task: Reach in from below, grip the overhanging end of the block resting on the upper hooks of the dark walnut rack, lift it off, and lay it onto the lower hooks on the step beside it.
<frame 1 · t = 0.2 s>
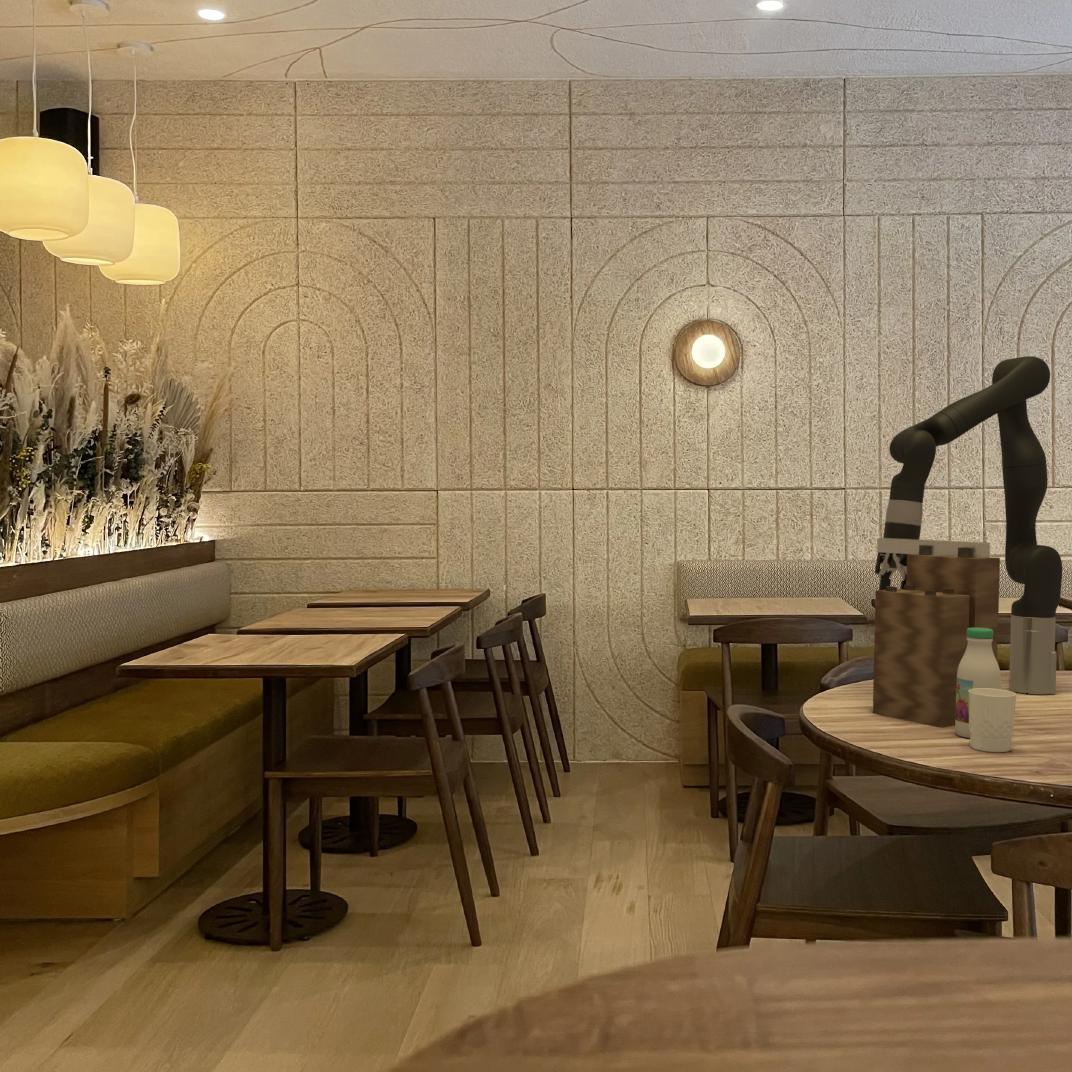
hand: (894, 596, 248), 22 cm above the table, tool pointing down, fingers open, 8 cm apart
block: (931, 554, 236), point 32 cm above the table
white cup: (990, 749, 202), on the table
rack: (933, 715, 231), on the table
milk bottle: (977, 737, 212), on the table
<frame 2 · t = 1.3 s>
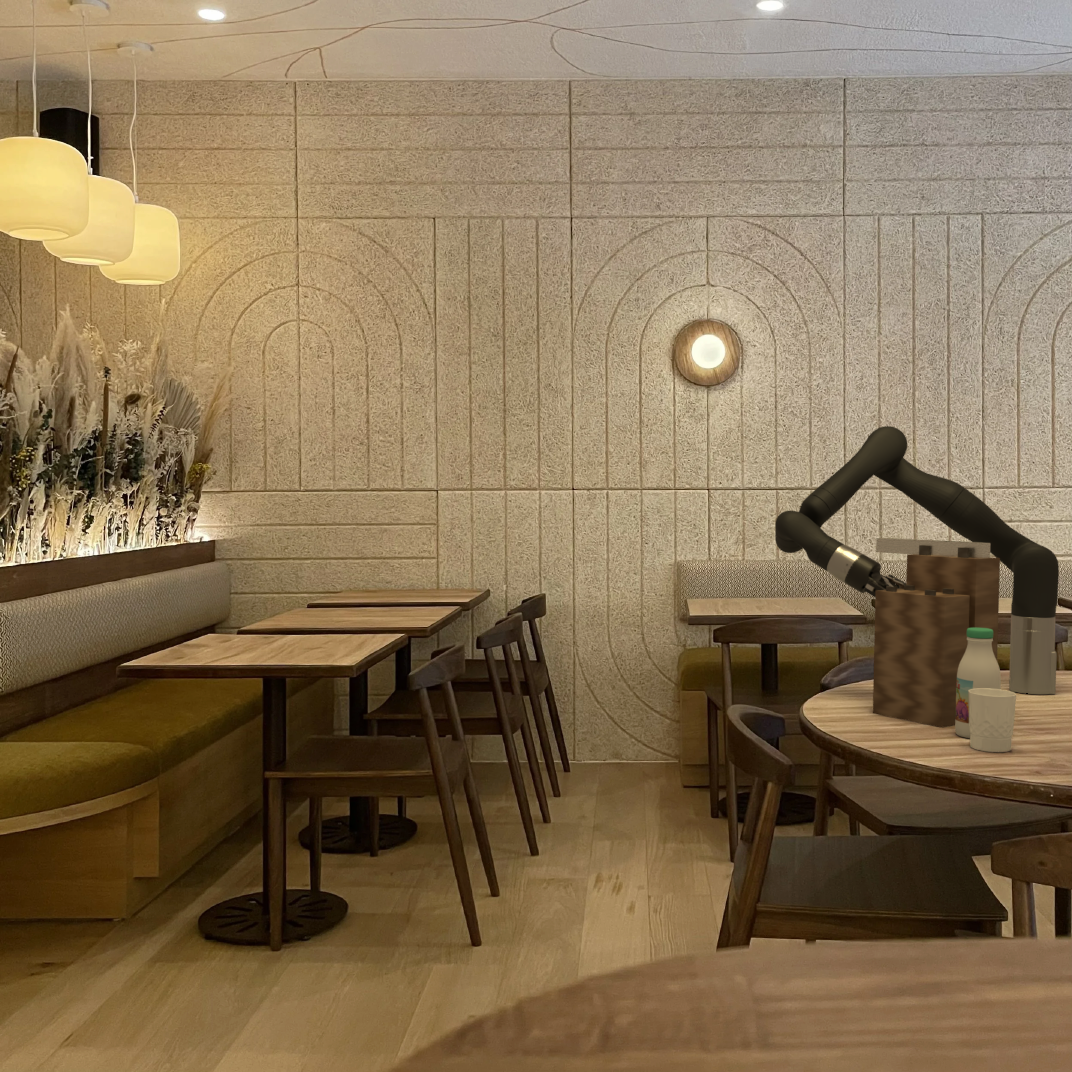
hand: (919, 606, 242), 21 cm above the table, tool tilted 65°, fingers open, 8 cm apart
block: (931, 554, 236), point 32 cm above the table, touching rack
everything else where it was.
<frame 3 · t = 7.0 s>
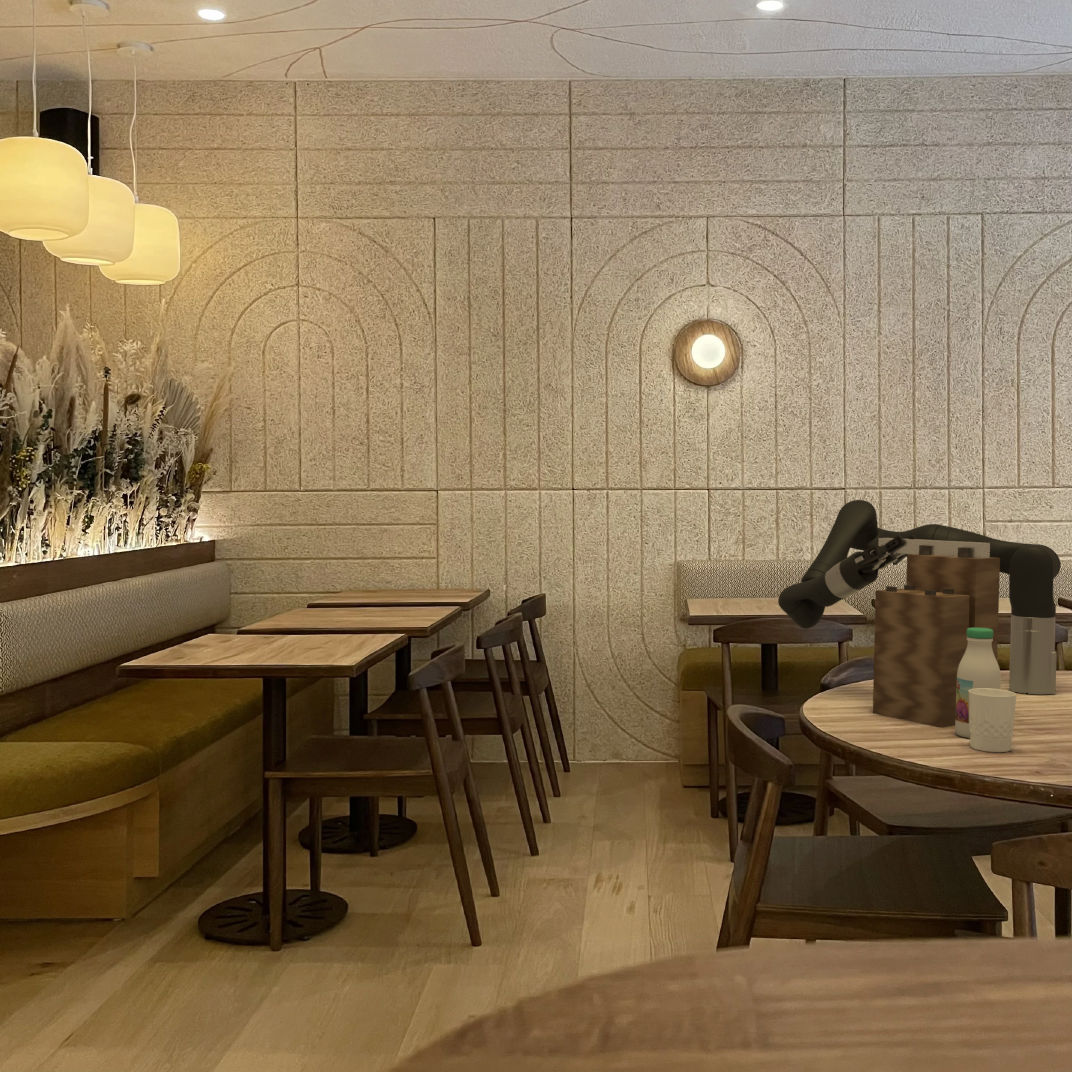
hand: (908, 539, 241), 35 cm above the table, tool pointing upward, fingers open, 4 cm apart
block: (931, 554, 236), point 32 cm above the table, touching gripper, rack
everything else where it was.
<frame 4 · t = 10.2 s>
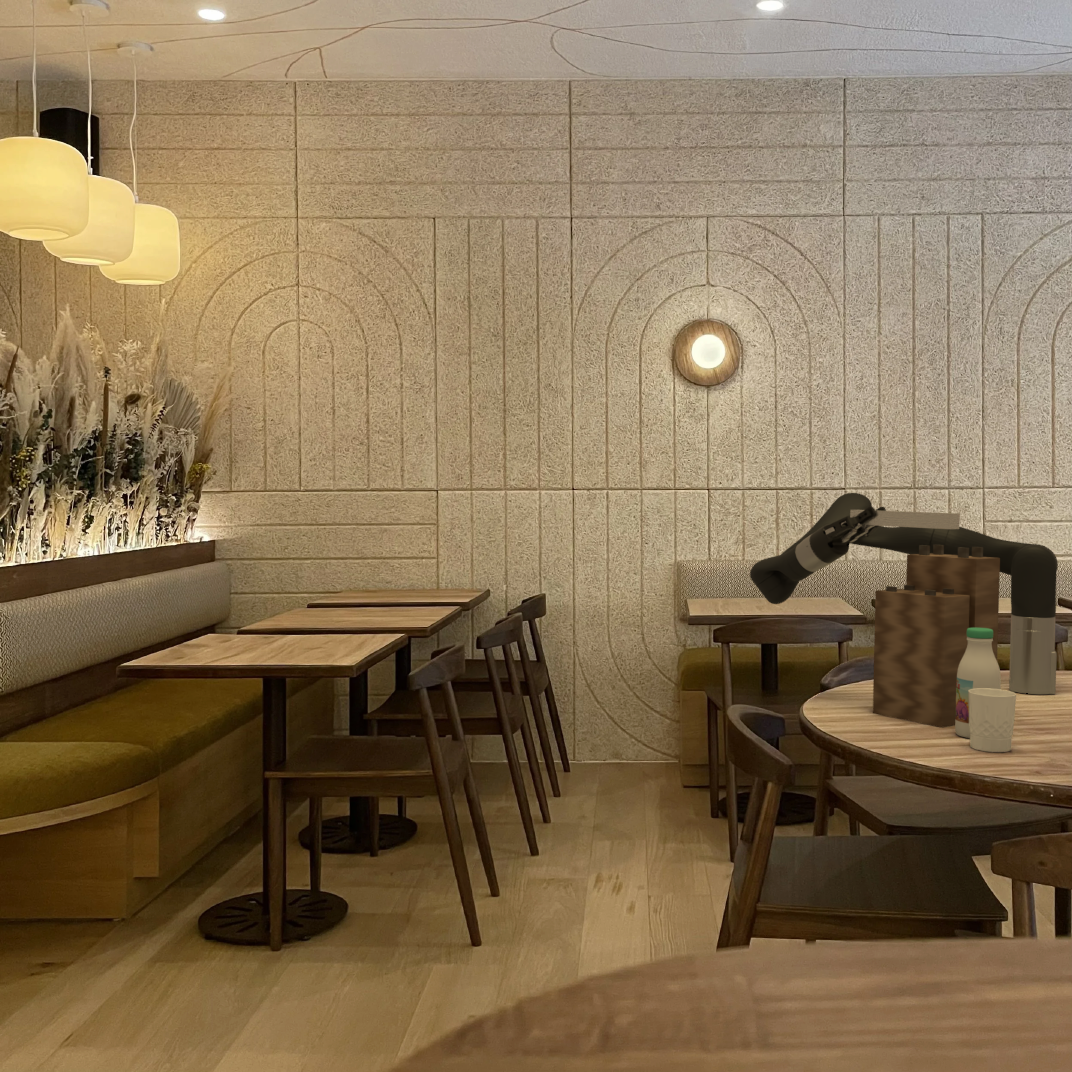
hand: (879, 510, 235), 41 cm above the table, tool pointing upward, fingers closed on block, 3 cm apart
block: (902, 526, 231), point 38 cm above the table, touching gripper
everything else where it was.
when the fingers open (29 cm above the table, at t = 13.4 s): block drops 1 cm, resting on rack.
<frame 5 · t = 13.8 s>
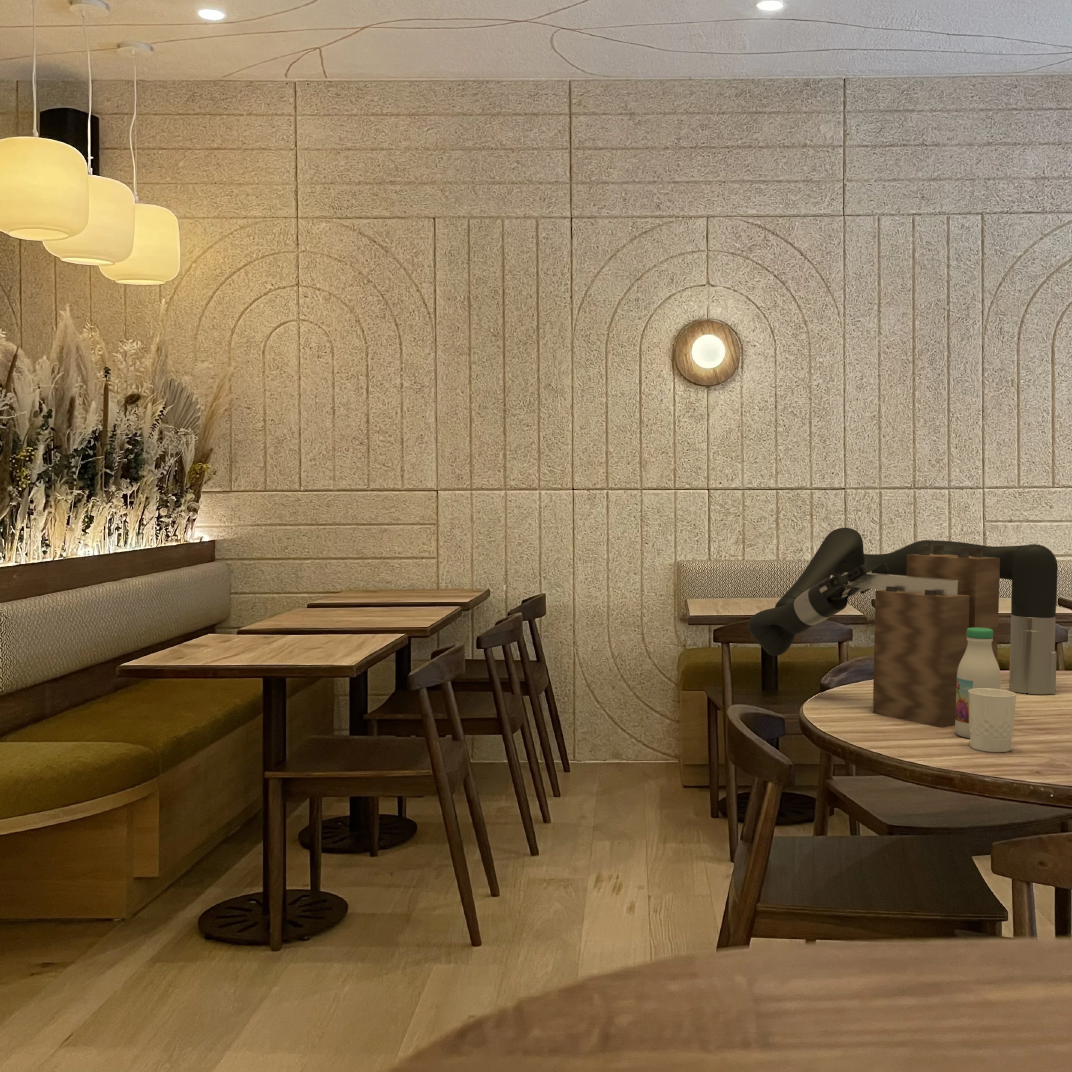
hand: (875, 568, 235), 29 cm above the table, tool pointing upward, fingers open, 7 cm apart
block: (900, 590, 231), point 25 cm above the table, touching rack
everything else where it was.
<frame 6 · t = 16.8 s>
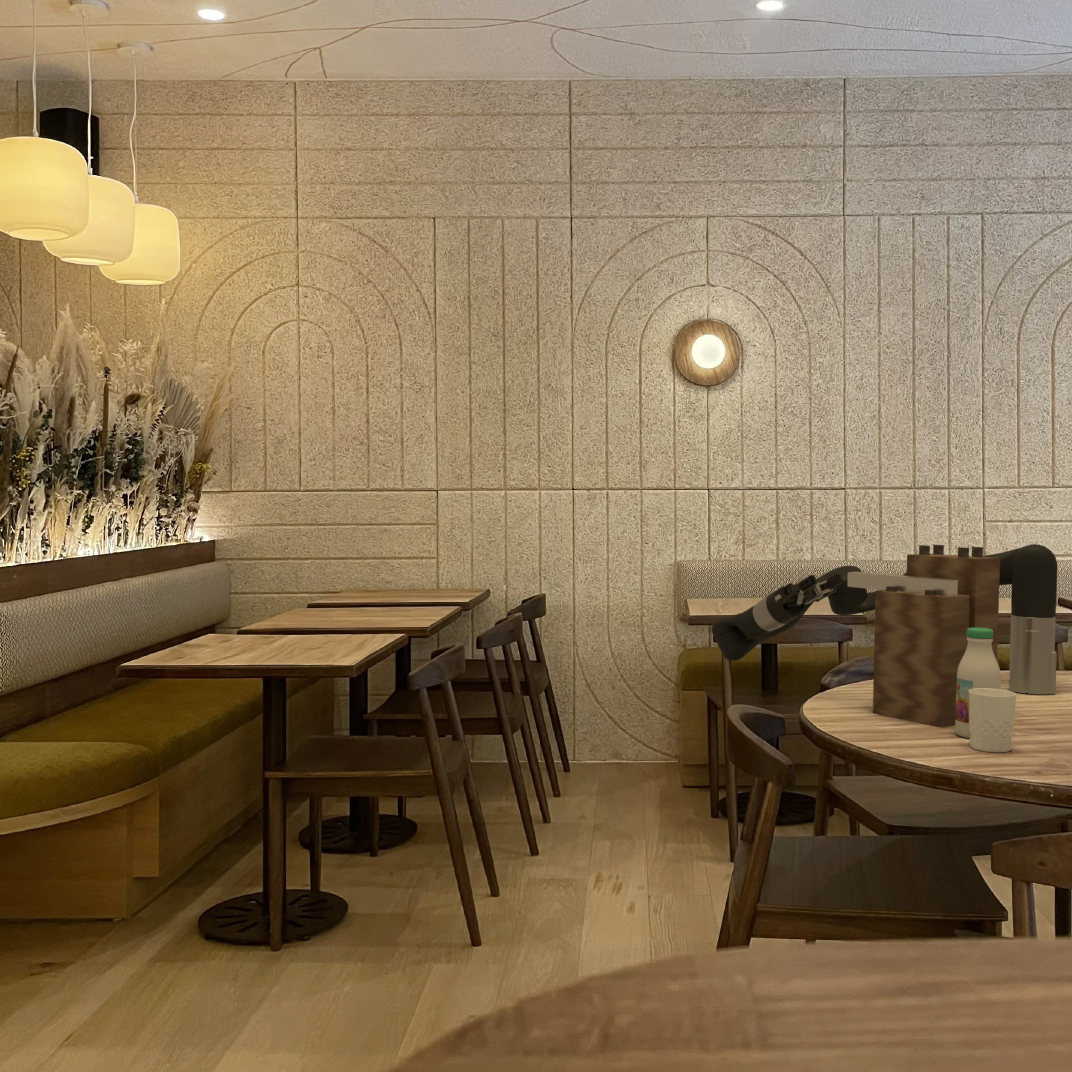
hand: (828, 578, 245), 26 cm above the table, tool pointing upward, fingers open, 8 cm apart
nothing on the table moved.
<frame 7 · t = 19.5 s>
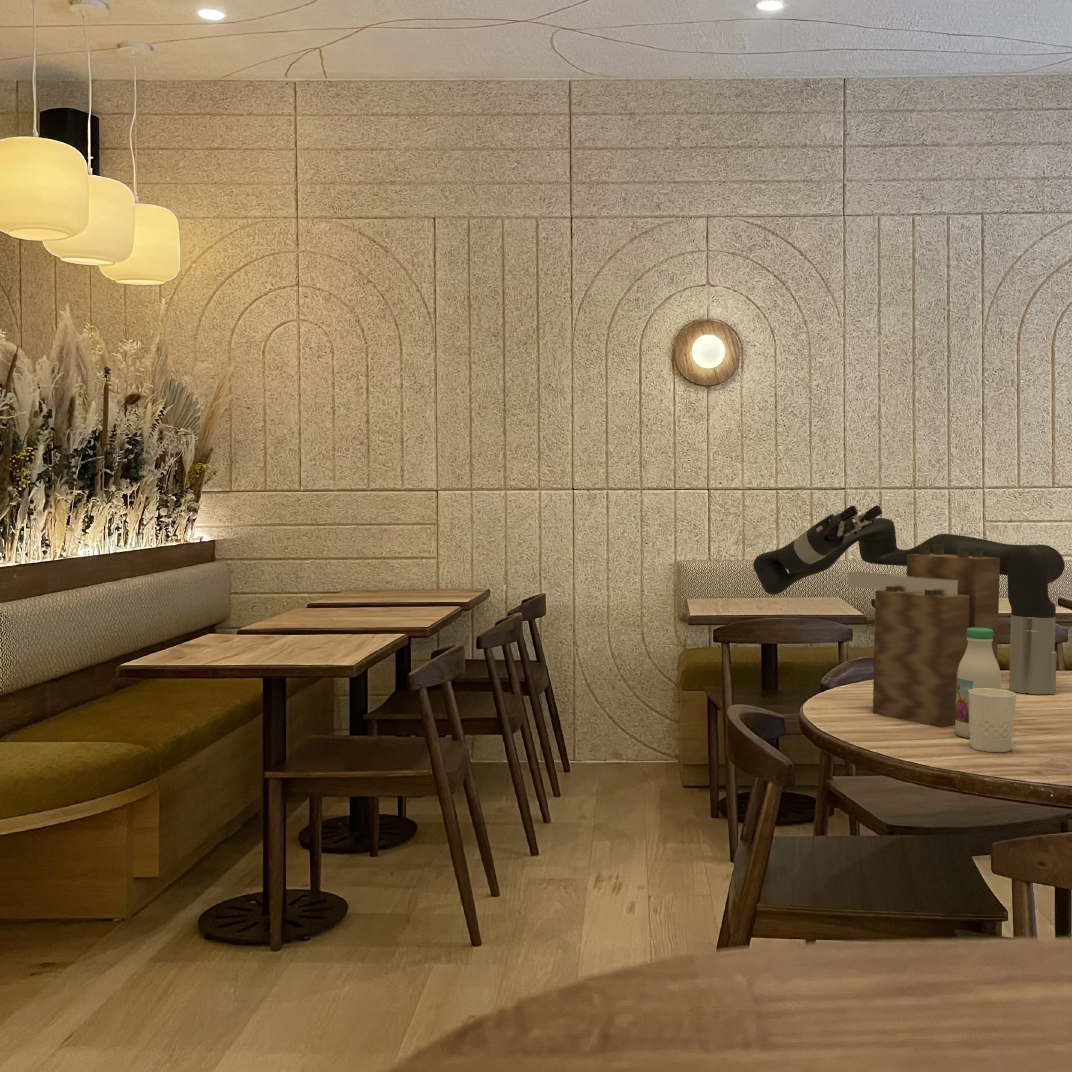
hand: (867, 509, 257), 41 cm above the table, tool pointing upward, fingers open, 8 cm apart
nothing on the table moved.
at the end: block inside the target area on the rack (0.1 cm from its centre), point 25.0 cm above the rack's base; block tilted 0°; the gripper is holding nothing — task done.
